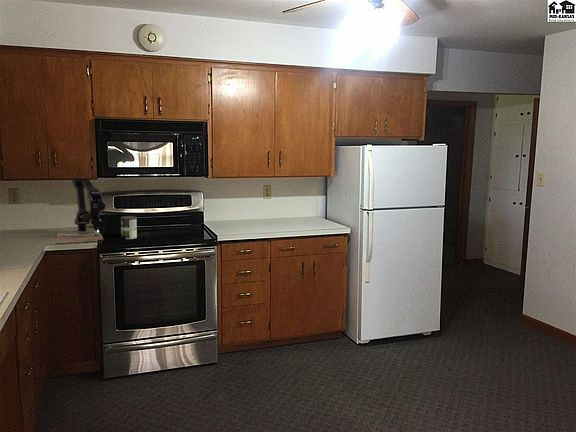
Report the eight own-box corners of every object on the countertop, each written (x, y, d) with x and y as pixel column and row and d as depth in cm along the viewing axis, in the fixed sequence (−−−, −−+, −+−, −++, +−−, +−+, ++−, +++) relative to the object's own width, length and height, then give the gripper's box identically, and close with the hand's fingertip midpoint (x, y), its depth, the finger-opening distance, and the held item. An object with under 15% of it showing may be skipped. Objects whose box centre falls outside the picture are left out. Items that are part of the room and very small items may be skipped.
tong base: (57, 236, 328) (57, 233, 328) (89, 234, 336) (89, 231, 336) (57, 237, 324) (57, 234, 323) (90, 235, 332) (90, 233, 332)
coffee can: (121, 239, 330) (120, 218, 328) (120, 236, 339) (120, 216, 337) (137, 238, 334) (137, 218, 331) (136, 235, 343) (136, 215, 341)
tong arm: (64, 237, 325) (64, 231, 325) (65, 236, 328) (65, 230, 328) (99, 235, 332) (99, 230, 331) (100, 234, 335) (99, 229, 334)
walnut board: (55, 238, 328) (55, 236, 328) (100, 235, 340) (100, 233, 340) (55, 244, 310) (55, 241, 310) (103, 241, 322) (103, 239, 322)
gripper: (81, 207, 337) (82, 230, 340) (82, 211, 320) (83, 235, 323) (98, 206, 342) (99, 229, 344) (101, 210, 325) (102, 234, 328)
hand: (95, 231), depth 335 cm, fingers closed
